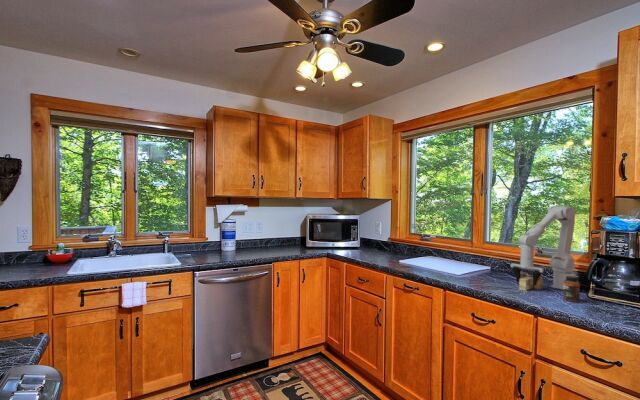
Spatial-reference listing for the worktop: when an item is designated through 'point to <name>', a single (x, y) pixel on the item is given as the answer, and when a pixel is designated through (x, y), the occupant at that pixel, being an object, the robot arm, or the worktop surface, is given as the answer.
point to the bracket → (539, 281)
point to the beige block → (526, 283)
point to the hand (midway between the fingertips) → (526, 283)
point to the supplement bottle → (571, 289)
